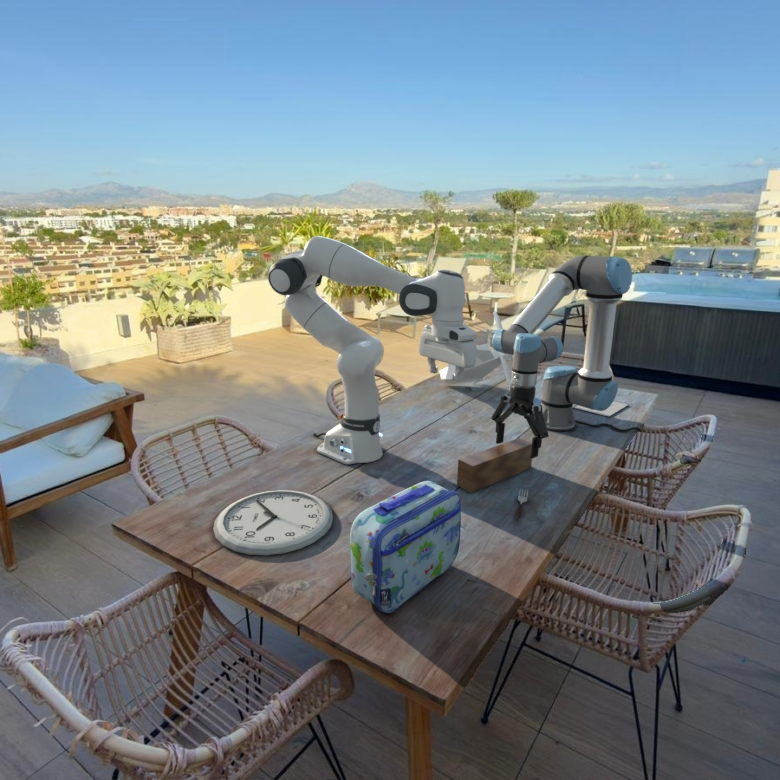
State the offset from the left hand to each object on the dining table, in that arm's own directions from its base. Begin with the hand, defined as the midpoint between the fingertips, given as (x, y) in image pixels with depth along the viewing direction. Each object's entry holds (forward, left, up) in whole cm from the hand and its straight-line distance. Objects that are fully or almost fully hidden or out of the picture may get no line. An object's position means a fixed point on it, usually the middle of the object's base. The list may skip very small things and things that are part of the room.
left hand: (444, 376), depth 151 cm
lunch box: (+16, -50, -32) cm, 62 cm away
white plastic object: (-21, +87, -32) cm, 95 cm away
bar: (+15, +9, -32) cm, 36 cm away
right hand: (+18, +17, -25) cm, 36 cm away
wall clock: (-25, -47, -32) cm, 62 cm away
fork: (+27, -6, -32) cm, 42 cm away
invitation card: (+31, +97, -32) cm, 107 cm away
